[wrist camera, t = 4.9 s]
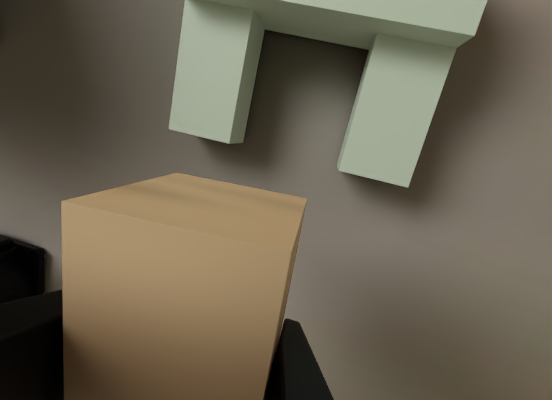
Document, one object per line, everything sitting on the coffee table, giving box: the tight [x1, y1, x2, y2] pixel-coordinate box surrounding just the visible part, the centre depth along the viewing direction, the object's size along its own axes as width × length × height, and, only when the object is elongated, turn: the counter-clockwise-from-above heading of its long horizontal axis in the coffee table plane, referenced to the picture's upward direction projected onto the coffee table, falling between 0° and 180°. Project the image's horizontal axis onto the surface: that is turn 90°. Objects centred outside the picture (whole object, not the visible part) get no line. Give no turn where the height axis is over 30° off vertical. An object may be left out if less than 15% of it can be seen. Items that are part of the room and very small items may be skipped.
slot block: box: [169, 0, 487, 188], centre depth 13 cm, size 10×12×4 cm
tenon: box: [61, 173, 307, 400], centre depth 7 cm, size 7×4×4 cm, turn 170°
